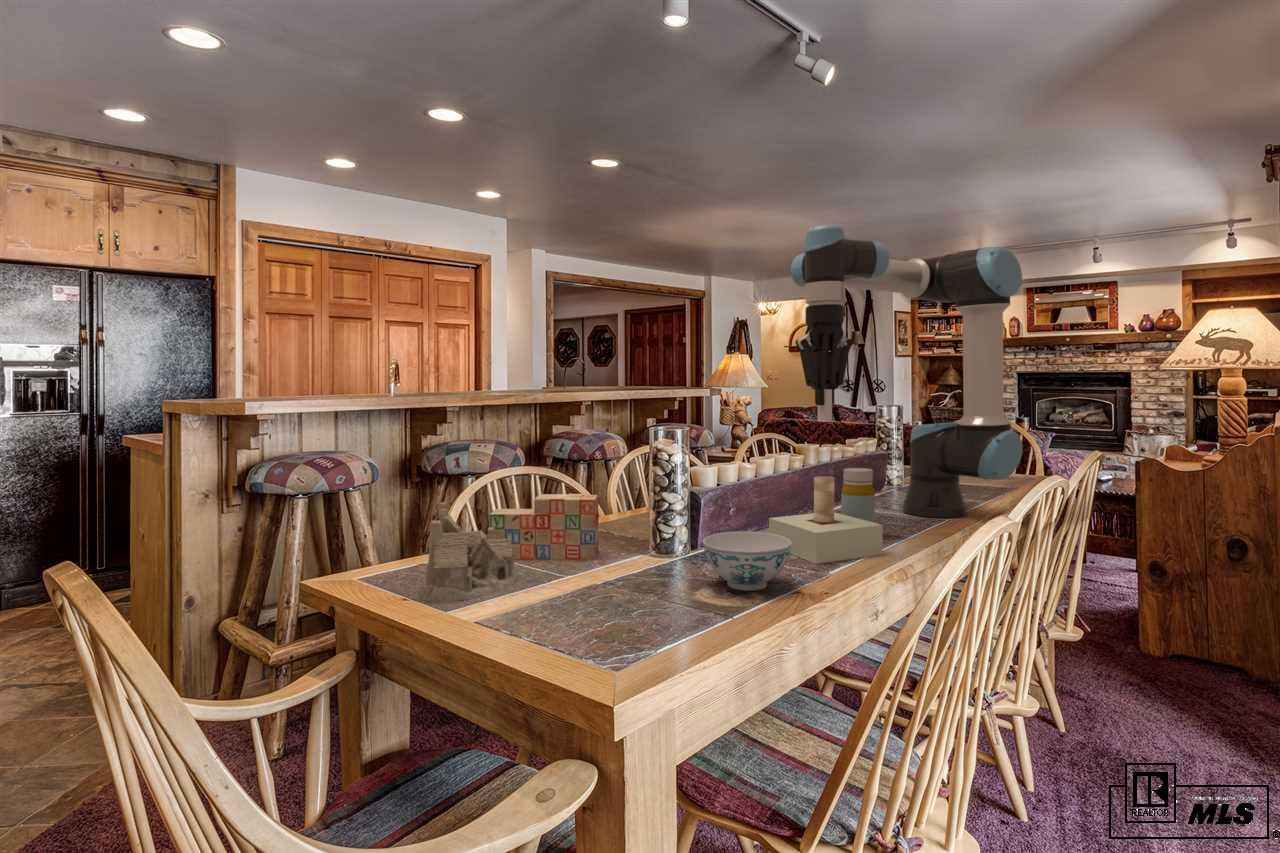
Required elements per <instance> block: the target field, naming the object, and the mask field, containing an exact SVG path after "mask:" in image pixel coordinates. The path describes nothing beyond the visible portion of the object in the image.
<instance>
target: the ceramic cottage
mask: <svg viewBox="0 0 1280 853" xmlns="http://www.w3.org/2000/svg"><path fill="white" fill-rule="evenodd" d="M448 510H449V509H448V508H447V505H446V502H445V501H444V502H439V503H438V511H437V512H438V514H437V515H438V519H439V520H433V521H432V522H431V526H430V533H429V538H428V550H429V551H428V559H427V560H428V561H427V564H426V567H425V575H424V576H423V577H422V579H421V580H420V581H421V587H420V589H421V590H420V600H421V601H423V602H428V603H435V604H436V603H452V602H454V601H455V602H460V601H468V600H472V599H475V598H478V597H481V596H483V595H487V594H492V593H493V592H496V591H500V590H502V589H503V590H504V589H506V588H510V587H512V586H513V585H515V584H516V577H515V575H514V573H513V570H514V566H515V559H514V557H513V556H514V554H513V553H512V542H511V539H501V540H496V535H495V528H493V527H490V526H489V527H488V528H487V534H486V533H484V531H482V530H473V531H472V530H471V531H463V530H462V527H461V526H460V525H459V524H458V523H456V521H454V519H453V517H452V516H451V514H449V512H448Z"/></svg>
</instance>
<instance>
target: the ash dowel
mask: <svg viewBox="0 0 1280 853" xmlns="http://www.w3.org/2000/svg"><path fill="white" fill-rule="evenodd" d="M834 512H835V477H834V476H826V475H823V476H822V475H821V476H818V475H817V476H814V477H813V513H814V523H816V524H820V525H827V524H834Z"/></svg>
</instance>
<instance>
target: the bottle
mask: <svg viewBox="0 0 1280 853" xmlns="http://www.w3.org/2000/svg"><path fill="white" fill-rule="evenodd" d="M842 474H843V485H842V487H841V493H840V494H841V495H840V496H841V498H840V499H841V503H840V505H841V507H840V509H841V510H840V514H843V515H846V516H850V517H854V518H858V519H862V520H866V521H870V522H873V523H876V522H875V521H876V520H875V518H876V516H875V515H876V514H875V510H876V509H875V508H876V507H875V506H876V505H875V504H876V502H875V501H876V500H875V498H876V494H875V493H876V492H875V488H874V486H873V480H874V470H873V468H872V469H871V468H865V467H848V468H847V467H846V468H844V469H843V473H842Z"/></svg>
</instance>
